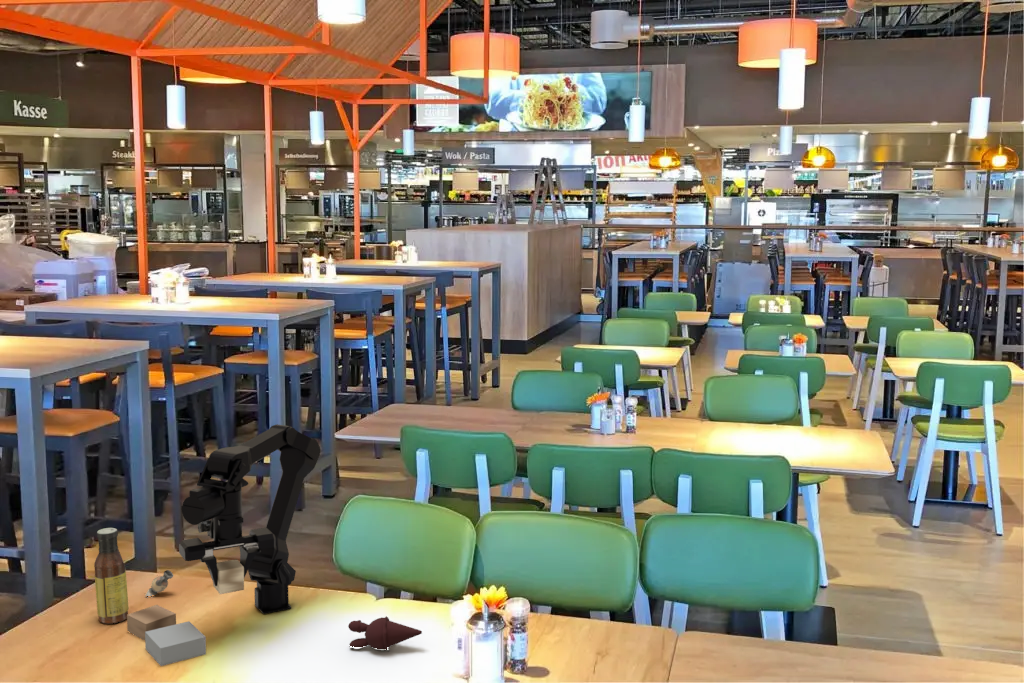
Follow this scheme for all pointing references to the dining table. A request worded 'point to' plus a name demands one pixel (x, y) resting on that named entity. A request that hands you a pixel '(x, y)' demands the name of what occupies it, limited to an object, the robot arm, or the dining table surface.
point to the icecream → (381, 633)
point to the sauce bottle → (110, 579)
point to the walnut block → (149, 620)
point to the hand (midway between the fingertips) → (228, 583)
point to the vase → (159, 583)
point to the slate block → (175, 643)
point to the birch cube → (230, 577)
